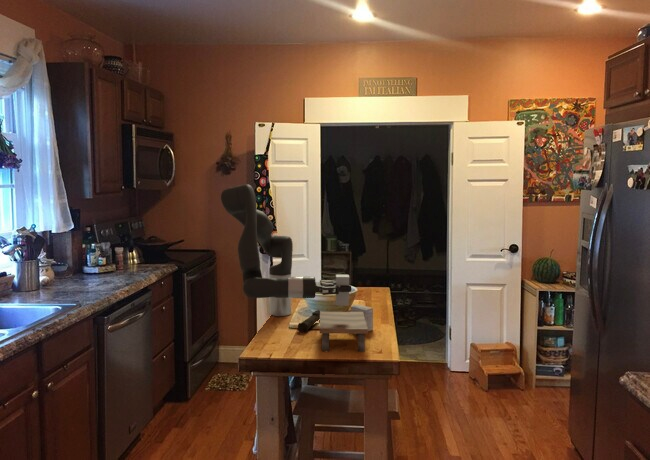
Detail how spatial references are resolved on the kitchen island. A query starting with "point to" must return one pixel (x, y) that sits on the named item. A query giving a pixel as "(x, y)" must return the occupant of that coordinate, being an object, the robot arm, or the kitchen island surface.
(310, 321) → the hand tool
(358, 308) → the medicine box
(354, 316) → the peg shelf
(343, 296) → the upright block
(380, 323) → the kitchen island surface
